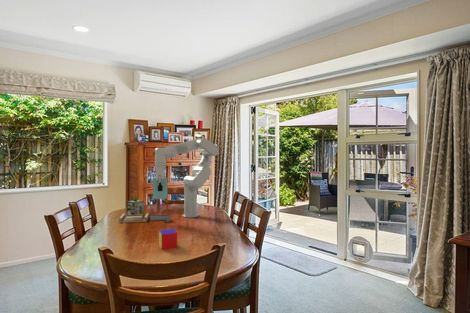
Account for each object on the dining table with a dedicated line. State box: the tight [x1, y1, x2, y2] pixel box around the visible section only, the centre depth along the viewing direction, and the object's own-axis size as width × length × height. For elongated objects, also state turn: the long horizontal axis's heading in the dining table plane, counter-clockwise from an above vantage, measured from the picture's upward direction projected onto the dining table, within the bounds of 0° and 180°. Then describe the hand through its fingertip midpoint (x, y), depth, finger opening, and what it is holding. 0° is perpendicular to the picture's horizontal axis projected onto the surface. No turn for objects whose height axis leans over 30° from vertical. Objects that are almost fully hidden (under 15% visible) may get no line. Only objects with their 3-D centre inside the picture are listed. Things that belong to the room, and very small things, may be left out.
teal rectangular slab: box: [152, 177, 169, 200], centre depth 224 cm, size 2×10×15 cm, turn 100°
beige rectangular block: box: [124, 216, 143, 223], centre depth 218 cm, size 5×12×3 cm, turn 100°
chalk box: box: [126, 196, 145, 215], centre depth 242 cm, size 9×9×15 cm
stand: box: [149, 214, 171, 223], centre depth 224 cm, size 8×14×4 cm, turn 100°
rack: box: [118, 212, 150, 224], centre depth 223 cm, size 16×18×4 cm
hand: (160, 190), depth 224 cm, fingers closed on teal rectangular slab, 2 cm apart
